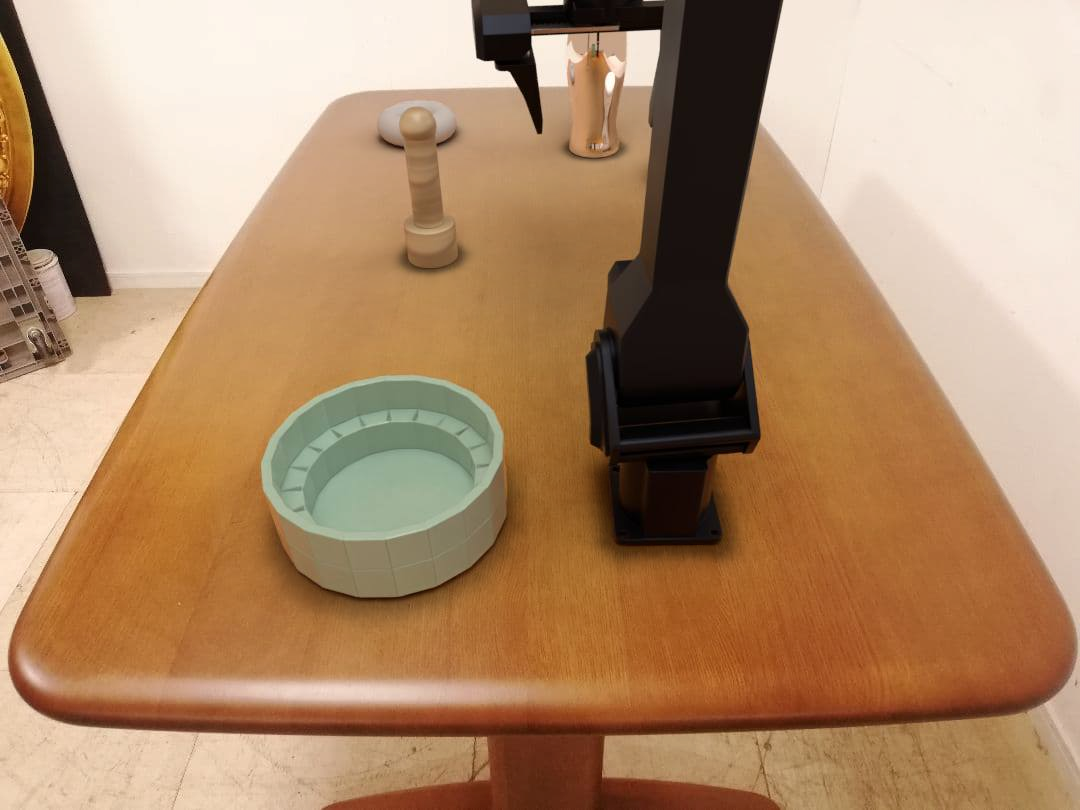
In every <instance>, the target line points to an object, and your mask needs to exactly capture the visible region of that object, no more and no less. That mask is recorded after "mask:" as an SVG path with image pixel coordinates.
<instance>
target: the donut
mask: <svg viewBox="0 0 1080 810" xmlns="http://www.w3.org/2000/svg"><path fill="white" fill-rule="evenodd" d="M415 106H419V107H423V108H425V109H427V110H429V111H430V112H431V113H432V115H433V116H434V118H435V121H436V125H437V128H436V134H435V138H436V145H437V144H440V143H442V142H445V141H446V140H448V139H449V138H451V136H452V135H453V134H454V132H455V131H456V129H457V124H458V122H457V116H456V114H455V112H454V111H453V109H451V108H450V107H449V106H448V105H447V104H445V103H441V102H439V101H435V100H429V99H415V100H414V99H413V100H412V99H411V100H406V101H400V102H398V103H397V102H396V103H394V104H392V105H390V106H388V107H386V108H384V109H383V110H382V112H380V114H379V115H378V118H377V125H376V126H377V127H376V128H377V131H378V133H379V135H380V137H382V138H383V140H385V141H386V142H388V143H390V144H391V145H392V144H393V145H394V146H398V147H404V142H403V136H402V135H401V133H400V129H399V121H400V118H401V116H402V114H403V113H404V111H406V110H407V109H408V108H411V107H415Z"/></svg>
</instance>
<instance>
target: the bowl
mask: <svg viewBox="0 0 1080 810" xmlns="http://www.w3.org/2000/svg"><path fill="white" fill-rule="evenodd" d="M505 443H506V442H505V433H504V430H503V429H502V426H501V424H500V422H499V420H498V417H497V415H496V413H495V411H494V409H493V408H491V407H490V406H489V404H488V403H486V402H485V401H484V400H483V399H482V398H481V397H480V396H479V395H477V394H476V393H475V392H473V391H471V390H469V389H467V388H465V387H463V386H461V385H458V384H456V383H454V382H451V381H449V380H447V379H441V378H436V377H430V376H425V375H420V374H391V375H390V374H389V375H388V374H387V375H378V376H374V377H369V378H365V379H359V380H355V381H350V382H347V383H345V384H343V385H340V386H337V387H335V388H333V389H330V390H327V391H325V392H323V393H320V394H318V395H316V396H315V397H313V398H312V399H310V400H309V401H307V402H306V403H304V404H303V405H302V406H300V407H298V408H296V410H294V411H293V412H291V413H290V414H289V415H288V416H287V418H285V420H284V421H283V422H282V424H281V425H280V426H279V427H278V428H277V429H276V430H275V432H273V434H272V435H271V437H269V441H268V443H267V445H266V448H265V451H264V453H263V456H262V458H261V461H260V474H261V475H260V476H261V486H262V487H261V488H262V491H263V494H264V497H265V500H266V503H267V506H268V509H269V511H270V515H271V517H272V520H273V523H274V526H275V529H276V532H277V535H278V537H279V540H280V543H281V546H282V548H283V550H284V551H285V552H286V554H287V556H288V558H289V559H290V561H291V563H292V564H293V566H294V567H295V569H296V570H297V571H298V572H300V573H301V574H302V575H304V576H305V577H307V578H309V579H310V580H311V581H313V582H314V583H315V584H316V585H318V586H320V587H321V588H324V589H325V590H330V591H334V592H337V593H341V594H344V595H349V596H352V597H355V598H398V597H404V596H407V595H411V594H414V593H418V592H422V591H425V590H426V591H427V590H429V589H433V588H436V587H438V586H441V585H443V584H445V582H447V581H449V580H450V579H453V578H454V577H456V576H458V575H459V574H461V573H463V572H465V571H466V570H469V569H470V568H472V566H473V565H474V564H475V563H477V562H478V560H480V558H481V557H482V556H483V555H484V554H485V553H486V552H487V551H488V550H489V549H490V548H491V547H492V546H493V545H494V543H495V541H496V539H497V538H498V535H499V532H500V530H501V529H502V526H503V524H504V522H505V520H506V518H507V515H508V478H507V475H508V474H507V463H506V462H507V461H506V444H505Z"/></svg>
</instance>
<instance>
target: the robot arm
mask: <svg viewBox="0 0 1080 810" xmlns="http://www.w3.org/2000/svg"><path fill="white" fill-rule="evenodd" d="M562 3H563V4H549V5H548V4H547V5H529V2H528V0H470V6H471V7H470V8H471V20H472V33H473V41H474V42H473V43H474V49H475V57H476V59H477V60H480V61H482V62H493V63H494V69H495V70H496V71H498V72H509V74H510V75H511V77H512V79H513V80H514V82H515V84H516V86H517V88H518V90H519V91H520V93H521V96H522V97H523V99H524V101H525V104H526V107H527V109H528V113H529V116H530V119H531V121H532V123H533V125H534V126H533V127H534V129H535V132H536V134H537V135H542V134H543V128H544V127H543V126H544V118H543V110H542V109H543V108H542V100H541V93H540V85H539V79H538V70H537V69H538V68H537V62H536V58H535V57H536V56H535V54H534V48H533V40H532V39H533V38H532V37H540V36H541V37H543V36H560V35H561V36H563V35H564V36H565V35H567V34H585V33H606V32H627V33H628V32H643V31H644V32H645V31H659V52H658V58H657V62H656V67H655V73H654V78H653V83H652V88H651V92H650V98H649V104H648V105H649V106H648V119H647V121H648V126H649V127H650V129H651V134H650V144H649V145H650V146H649V156H648V164H647V175H646V183H645V184H646V185H645V196H644V206H643V208H644V209H643V214H642V215H643V216H642V226H641V236H640V246H639V252H638V254H637V255H636V256H635V257H634V258H633V259H625V260H624V259H623V260H616V261H614V263H613V264H612V266H611V268H610V269H609V271H608V273H607V282H606V283H607V284H606V285H607V290H606V296H605V297H606V298H605V307H604V314H603V323H602V328H599V329H595V330H594V333H593V339H592V341H591V343H590V350H589V351H588V352H587V354H586V355H585V356H584V357H585V358H584V361H585V363H584V364H585V376H586V388H587V402H588V403H587V404H588V419H589V420H588V423H589V424H588V439H589V444H590V445H591V446H593V447H594V448H596V449H598V450H600V452H602V453H603V455H604V458H605V460H606V463H607V464H606V465H607V466H608V472H607V473H608V483H609V494H610V503H611V504H610V505H611V513H612V515H611V516H612V522H613V523H612V524H613V532H614V533H613V534H614V540H615V542H616V543H617V544H619V545H634V546H635V545H680V544H681V545H692V544H693V545H694V544H696V545H697V544H699V545H700V544H701V545H703V544H719V543H720V542H721V541H722V540H723V539H722V538H723V529H722V525H721V522H720V521H721V520H720V517H719V512H718V508H717V504H716V500H715V497H714V491H713V484H714V481H715V480H714V479H715V473H716V468H717V461H718V456H719V455H728V454H729V455H730V454H732V455H733V454H742V455H750V454H751V455H752V454H753V453H754V452H755V450H756V448H757V447H758V444H759V443H760V441H761V438H762V433H761V423H760V415H759V407H758V399H757V390H756V381H755V373H754V372H755V371H754V364H753V354H752V347H751V341H750V339H751V338H750V327H749V323H748V322H747V320H746V318H745V316H744V314H743V311H742V310H741V309H742V308H741V307H740V305H739V303H738V301H737V299H736V296H735V295H734V292H733V290H732V288H731V285H730V284H729V276H730V271H731V265H732V260H733V256H734V251H735V245H736V242H737V236H738V231H739V226H740V220H741V216H742V211H743V206H744V200H745V195H746V190H747V186H748V181H749V176H750V171H751V166H752V161H753V155H754V150H755V145H756V139H757V135H758V129H759V125H760V122H761V121H760V119H761V115H762V110H763V106H764V100H765V95H766V90H767V86H768V81H769V74H770V70H771V65H772V60H773V55H774V49H775V44H776V41H777V40H776V39H777V34H778V29H779V24H780V19H781V15H782V10H783V5H784V0H562Z"/></svg>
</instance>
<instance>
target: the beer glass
mask: <svg viewBox="0 0 1080 810" xmlns="http://www.w3.org/2000/svg"><path fill="white" fill-rule="evenodd" d="M565 36H566V37H565V71H566V80H567V87H568V93H569V98H570V106H571V113H572V114H571V115H572V122H571V123H572V125H571V132H570V136H569V142H568V149H569V151H570V152H571V153H572V154H574V155H576V156H579V157H583V158H589V159H590V158H592V159H594V158H595V159H599V158H607V157H610V156H612V155H614V154H616V153H617V152H618V151H619V149H620V142H619V134H618V133H619V132H618V112H619V106H620V101H621V97H622V93H623V87H624V83H625V78H626V70H627V64H628V63H627V62H628V47H629V45H628V44H629V43H628V42H629V41H628V31H627V32H606V33H585V34H566V35H565Z"/></svg>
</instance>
